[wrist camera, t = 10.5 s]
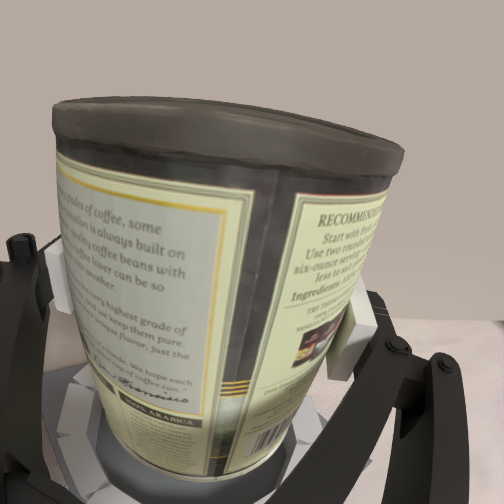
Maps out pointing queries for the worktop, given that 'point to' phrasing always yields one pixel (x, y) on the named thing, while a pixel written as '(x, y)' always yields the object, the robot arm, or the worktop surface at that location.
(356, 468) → the robot arm
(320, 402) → the worktop surface
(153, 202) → the coffee can
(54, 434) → the housing
